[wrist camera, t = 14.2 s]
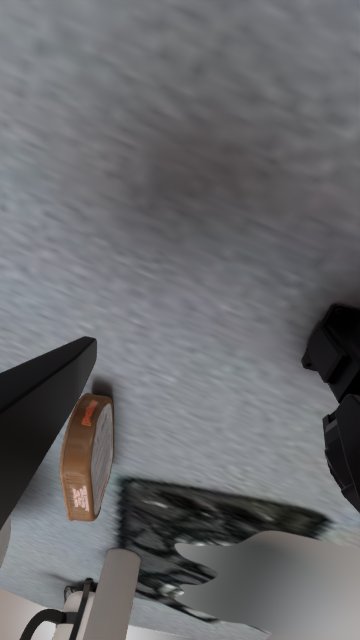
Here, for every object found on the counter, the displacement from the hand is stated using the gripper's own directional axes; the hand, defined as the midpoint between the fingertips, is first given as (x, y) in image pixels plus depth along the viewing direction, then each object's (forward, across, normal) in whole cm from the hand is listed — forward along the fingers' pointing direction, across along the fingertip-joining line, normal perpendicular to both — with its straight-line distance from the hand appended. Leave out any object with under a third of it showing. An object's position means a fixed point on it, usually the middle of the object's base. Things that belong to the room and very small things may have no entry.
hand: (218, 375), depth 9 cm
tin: (+13, +8, +22) cm, 27 cm away
